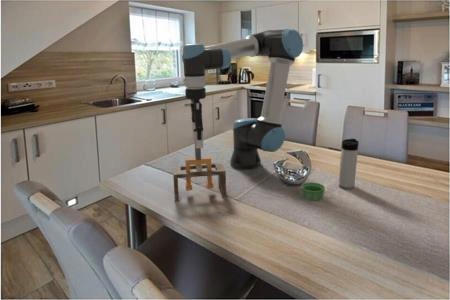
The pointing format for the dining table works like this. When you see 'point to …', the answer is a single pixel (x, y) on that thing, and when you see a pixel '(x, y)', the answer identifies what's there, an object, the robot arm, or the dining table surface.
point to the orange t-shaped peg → (194, 162)
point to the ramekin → (312, 191)
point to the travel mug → (348, 163)
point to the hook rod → (199, 167)
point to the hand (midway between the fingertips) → (197, 143)
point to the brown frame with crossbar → (219, 171)
